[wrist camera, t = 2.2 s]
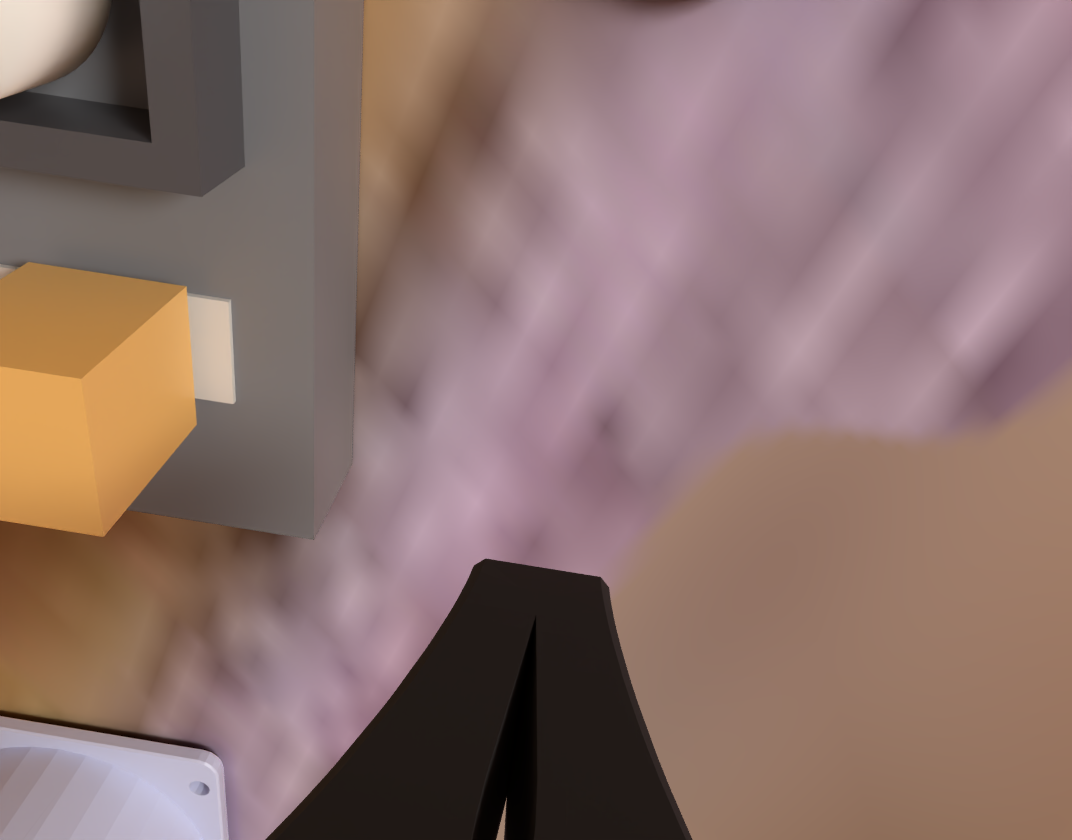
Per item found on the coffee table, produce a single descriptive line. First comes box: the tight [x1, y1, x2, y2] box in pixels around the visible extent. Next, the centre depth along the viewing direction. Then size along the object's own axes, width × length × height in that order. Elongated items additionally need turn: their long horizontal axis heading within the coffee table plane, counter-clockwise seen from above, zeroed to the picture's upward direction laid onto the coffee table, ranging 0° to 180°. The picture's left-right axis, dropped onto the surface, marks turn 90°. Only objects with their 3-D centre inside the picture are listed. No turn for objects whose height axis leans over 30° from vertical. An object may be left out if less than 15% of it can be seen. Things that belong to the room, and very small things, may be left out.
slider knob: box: [0, 262, 197, 537], centre depth 13 cm, size 2×2×3 cm
